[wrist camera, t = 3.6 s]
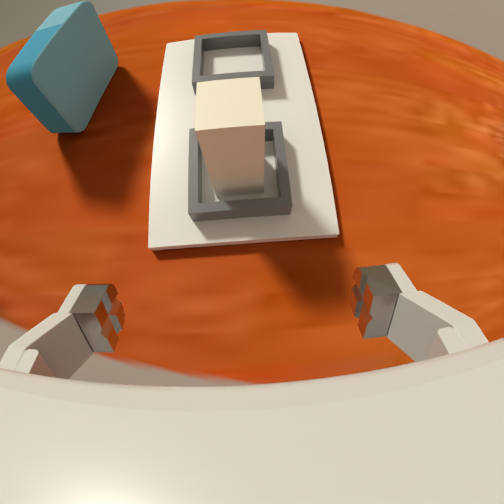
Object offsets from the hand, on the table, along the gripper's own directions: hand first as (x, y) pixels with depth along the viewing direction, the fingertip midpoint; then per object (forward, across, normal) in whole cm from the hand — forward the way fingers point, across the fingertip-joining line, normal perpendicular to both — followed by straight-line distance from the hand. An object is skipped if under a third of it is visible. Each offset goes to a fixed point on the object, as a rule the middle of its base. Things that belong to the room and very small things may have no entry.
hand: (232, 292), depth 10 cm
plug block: (+19, 0, -2) cm, 19 cm away
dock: (+24, 0, +2) cm, 24 cm away
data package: (+30, -18, +7) cm, 35 cm away
